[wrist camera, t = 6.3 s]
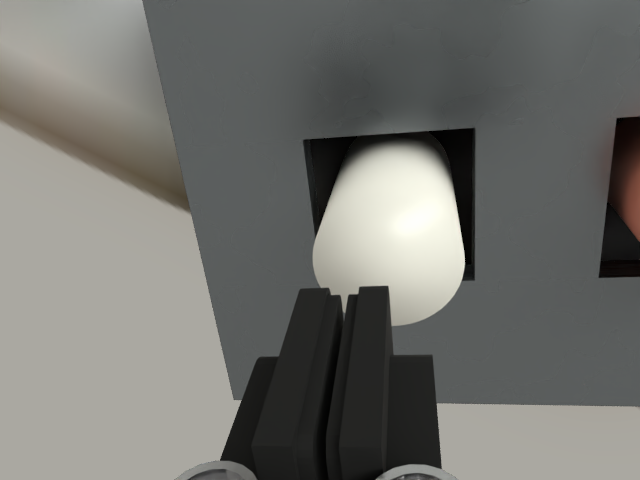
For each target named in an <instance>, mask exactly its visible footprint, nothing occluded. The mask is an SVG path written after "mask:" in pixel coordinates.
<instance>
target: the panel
mask: <svg viewBox="0 0 640 480" xmlns="http://www.w3.org/2000/svg"><path fill="white" fill-rule="evenodd" d="M142 1H143V5H144V10H145V14H146V18H147V23H148V27H149V32H150V36H151V40H152V45H153V49H154V53H155V58H156V62H157V66H158V71H159V75H160V80H161V84H162V88H163V93H164V97H165V101H166V106H167V110H168V114H169V119H170V123H171V128H172V132H173V136H174V141H175V145H176V149H177V154H178V158H179V163H180V167H181V171H182V176H183V180H184V184H185V189H186V193H187V197H188V202H189V206H190V211H191V215H192V219H193V223H194V228H195V232H196V237H197V240H198V245H199V250H200V254H201V259H202V263H203V267H204V272H205V276H206V280H207V285H208V289H209V293H210V297H211V302H212V307H213V311H214V315H215V320H216V324H217V328H218V333H219V337H220V342H221V346H222V350H223V354H224V359H225V363H226V368H227V372H228V376H229V380H230V385H231V390H232V394H233V398H234V400H242V398H243V395H244V392H245V390H246V387H247V384H248V381H249V379H250V376H251V373H252V370H253V368H254V365H255V363H256V361H257V359H258V358H259V357H270V356H279V354H280V351H281V348H282V344H283V341H284V338H285V335H286V331H287V328H288V325H289V322H290V318H291V315H292V312H293V309H294V305H295V302H296V299H297V296H298V292H299V290H300V289H301V288H321V287H320V285H319V283H318V281H317V279H316V276H315V273H314V268H313V247H314V243H315V239H316V236H317V233H318V231H319V228H320V218H319V210H318V202H317V194H316V185H315V177H314V169H313V161H312V153H311V145H310V139H318V138H333V137H347V136H362V135H376V134H391V133H405V132H420V131H434V130H449V129H463V128H472V264H465V267H464V273H463V278H462V281H461V283H460V286H459V288H458V289H457V291H456V293H455V295H454V296H453V297H452V298H451V300H450V301H449V302H448V303H447V304H446V305H445V306H444V307H443V308H442V309H440V310H439V311H438V312H436V313H435V314H433V315H431V316H430V317H428V318H426V319H423V320H421V321H418V322H415V323H411V324H407V325H401V326H392V339H393V353H394V355H431V354H432V355H433V366H434V378H435V391H436V403H459V404H460V403H461V404H521V405H524V404H525V405H585V406H640V260H613V261H600V260H601V251H602V242H603V234H604V225H605V216H606V207H607V198H608V189H609V181H610V172H611V163H612V154H613V145H614V136H615V128H616V119H617V118H622V117H637V116H640V0H142ZM343 318H345V313H344V312H343Z"/></svg>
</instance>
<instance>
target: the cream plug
mask: <svg viewBox="0 0 640 480" xmlns="http://www.w3.org/2000/svg"><path fill="white" fill-rule="evenodd" d="M464 267H465V256H464V248H463V242H462V236H461V230H460V223H459V217H458V211H457V205H456V199H455V193H454V187H453V180H452V174H451V168H450V163H449V159H448V157H447V154H446V152H445V150H444V148H443V147H442V145H441V144H440V143H439V141H438V140H437V139H436V138H435V137H434V136H433V135H431V134H430V133H429V132H427V131H420V132H405V133H391V134H376V135H362V136H358V137H357V138H356V139H355V140H354V141H353V143H352V144H351V145H350V147H349V148H348V150H347V152H346V154H345V156H344V159H343V162H342V164H341V167H340V170H339V173H338V176H337V179H336V182H335V185H334V187H333V190H332V193H331V196H330V199H329V202H328V205H327V208H326V210H325V213H324V216H323V219H322V222H321V225H320V228H319V231H318V233H317V236H316V239H315V243H314V247H313V268H314V273H315V276H316V279H317V281H318V283H319V285H320V287H321V288H329V289H330V292H331V295H340V296H341V300H342V309H343V312H344V313H345V312H346V306H347V299H348V295H349V294H358V292H359V287H360V286H388V287H389V296H390V310H391V325H392V326H401V325H407V324H411V323H415V322H418V321H421V320H423V319H426V318H428V317H430V316H431V315H433V314H435V313H436V312H438V311H439V310H440V309H442V308H443V307H444V306H445V305H446V304H447V303H448V302H449V301H450V300H451V298H452V297H453V296H454V295H455V293H456V291H457V289H458V288H459V286H460V283H461V281H462V278H463V273H464Z"/></svg>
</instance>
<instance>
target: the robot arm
mask: <svg viewBox="0 0 640 480" xmlns="http://www.w3.org/2000/svg"><path fill="white" fill-rule="evenodd" d="M175 480H458V479H457V478H456V477H454V476H453V475H451V474H449V473H447V472H446V471H444V470H442V468H441V454H440V442H439V429H438V417H437V405H436V391H435V378H434V366H433V355H432V354H431V355H394V353H393V339H392V325H391V310H390V296H389V287H388V286H360V287H359V292H358V294H349V295H348V299H347V306H346V312H345V318H343V309H342V300H341V296H340V295H331V292H330V289H329V288H301V289H300V290H299V292H298V296H297V299H296V302H295V305H294V309H293V312H292V315H291V318H290V322H289V325H288V328H287V331H286V335H285V338H284V341H283V344H282V348H281V351H280V354H279V356H270V357H259V358H258V359H257V361H256V363H255V365H254V368H253V370H252V373H251V376H250V379H249V381H248V384H247V387H246V390H245V392H244V395H243V398H242V401H241V404H240V407H239V409H238V412H237V415H236V418H235V420H234V423H233V426H232V428H231V431H230V434H229V437H228V439H227V442H226V445H225V448H224V450H223V453H222V456H221V459H220V461H213V462H208V463H204V464H200V465H198V466H196V467H194V468H192V469H189V470H187V471H186V472H184V473H183V474H181V475H180V476H179V477H178V478H176V479H175Z"/></svg>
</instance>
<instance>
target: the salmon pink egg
mask: <svg viewBox="0 0 640 480" xmlns="http://www.w3.org/2000/svg"><path fill="white" fill-rule="evenodd" d="M607 200H608V202H609V203H610V204H611V206H612V207H613V208H614V210H615V211H616V212H617V213H618V215H619V216H620V217H621V219H622V220H623V221H624V222H625V224H626V225H627V226H628V228H629V229H630V230H631V231H632V233H633V234H634V235H635V237H636V238H637V239H638V241H639V242H640V116H637V117H626V118H625V119H624V120H622V121H621V122H620V123H619V124H618V125H617V126H616V128H615V136H614V145H613V154H612V163H611V172H610V181H609V189H608V198H607Z"/></svg>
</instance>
